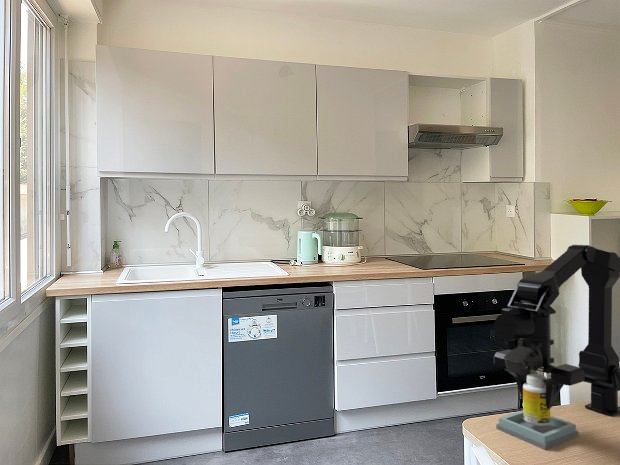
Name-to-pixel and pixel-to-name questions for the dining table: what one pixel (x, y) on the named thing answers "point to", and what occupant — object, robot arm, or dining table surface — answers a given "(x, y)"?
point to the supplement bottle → (535, 401)
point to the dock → (538, 430)
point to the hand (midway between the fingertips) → (536, 403)
